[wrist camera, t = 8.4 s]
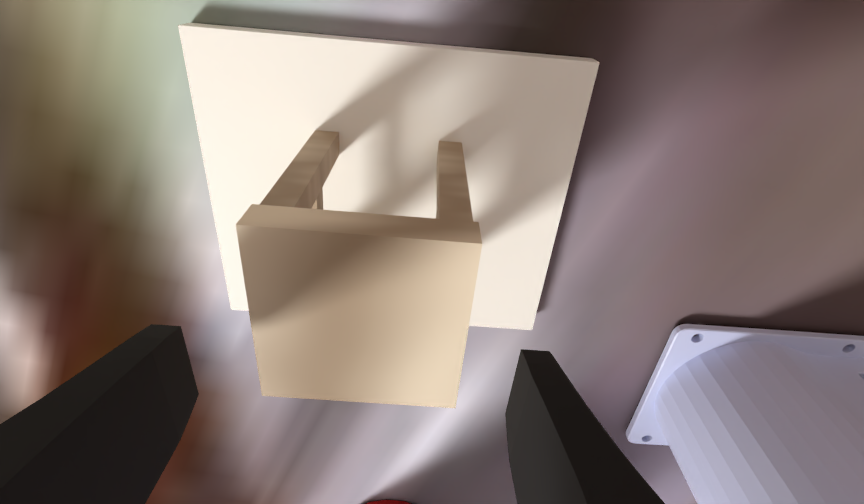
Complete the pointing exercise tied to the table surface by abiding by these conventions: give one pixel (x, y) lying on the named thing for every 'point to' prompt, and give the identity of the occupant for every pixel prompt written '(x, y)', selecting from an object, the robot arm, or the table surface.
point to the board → (395, 139)
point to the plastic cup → (388, 502)
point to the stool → (359, 288)
